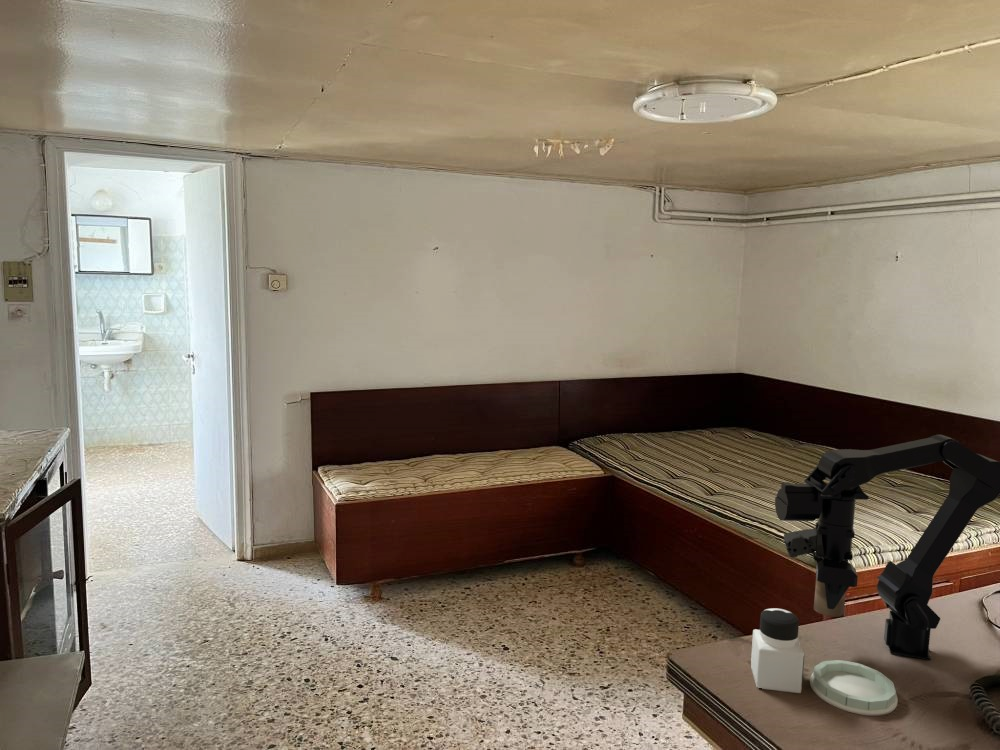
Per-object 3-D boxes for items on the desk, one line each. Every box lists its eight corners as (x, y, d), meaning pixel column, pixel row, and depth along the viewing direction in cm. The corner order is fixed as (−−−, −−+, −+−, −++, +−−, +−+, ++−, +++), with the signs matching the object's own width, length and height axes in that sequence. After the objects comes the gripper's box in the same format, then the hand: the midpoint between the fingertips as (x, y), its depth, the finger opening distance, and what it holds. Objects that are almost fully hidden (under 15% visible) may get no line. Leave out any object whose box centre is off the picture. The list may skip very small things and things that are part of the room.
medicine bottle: (802, 694, 117) (807, 625, 115) (756, 689, 118) (760, 621, 116) (793, 671, 124) (798, 606, 122) (750, 666, 125) (754, 602, 123)
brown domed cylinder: (842, 607, 132) (845, 571, 131) (844, 619, 127) (848, 582, 126) (813, 602, 134) (815, 567, 133) (814, 614, 129) (817, 577, 128)
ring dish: (890, 679, 121) (891, 667, 121) (903, 723, 109) (905, 710, 109) (808, 664, 126) (808, 653, 126) (812, 704, 114) (813, 692, 114)
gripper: (786, 500, 140) (781, 576, 142) (789, 531, 122) (783, 617, 125) (849, 507, 136) (842, 585, 138) (861, 540, 119) (853, 628, 121)
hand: (829, 602), depth 130 cm, fingers closed on brown domed cylinder, 5 cm apart
